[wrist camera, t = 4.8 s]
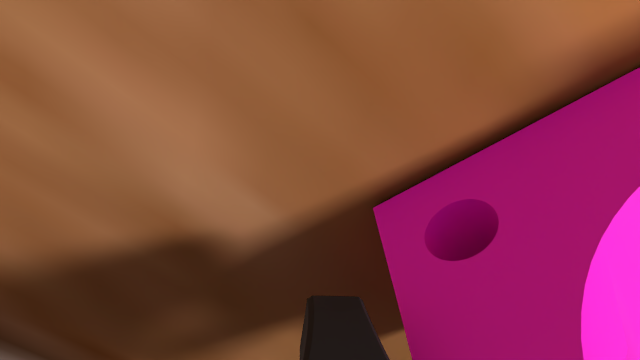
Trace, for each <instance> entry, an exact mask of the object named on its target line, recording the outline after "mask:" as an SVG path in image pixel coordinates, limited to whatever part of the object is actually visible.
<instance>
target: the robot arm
mask: <svg viewBox="0 0 640 360" xmlns="http://www.w3.org/2000/svg"><path fill="white" fill-rule="evenodd" d="M300 360H389V358H388V356H387V354H386V352H385V350H384V348H383V346H382V344H381V342H380V339H379V337H378V335H377V333H376V331H375V329H374V327H373V325H372V322H371V320H370V318H369V315H368V313H367V311H366V308H365V306H364V303H363V301H362V300H361V299H360V298H359V297H349V296H311V297H310V298H308V299H307V305H306V311H305V318H304V324H303V331H302V337H301V344H300Z"/></svg>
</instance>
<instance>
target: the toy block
mask: <svg viewBox="0 0 640 360" xmlns="http://www.w3.org/2000/svg"><path fill="white" fill-rule="evenodd" d="M373 210H374V214H375V218H376V222H377V226H378V229H379V233H380V237H381V241H382V245H383V249H384V252H385V256H386V260H387V264H388V268H389V272H390V275H391V279H392V283H393V287H394V291H395V295H396V299H397V302H398V306H399V310H400V314H401V318H402V322H403V325H404V329H405V333H406V337H407V341H408V345H409V348H410V352H411V356H412V360H640V67H639V68H637V69H636V70H634V71H632V72H630V73H628V74H626V75H624V76H622V77H620V78H618V79H617V80H615V81H613V82H611V83H609V84H607V85H605V86H603V87H601V88H599V89H598V90H596V91H594V92H592V93H590V94H588V95H586V96H584V97H582V98H581V99H579V100H577V101H575V102H573V103H571V104H569V105H567V106H565V107H563V108H562V109H560V110H558V111H556V112H554V113H552V114H550V115H548V116H546V117H544V118H543V119H541V120H539V121H537V122H535V123H533V124H531V125H529V126H527V127H525V128H524V129H522V130H520V131H518V132H516V133H514V134H512V135H510V136H508V137H507V138H505V139H503V140H501V141H499V142H497V143H495V144H493V145H491V146H489V147H488V148H486V149H484V150H482V151H480V152H478V153H476V154H474V155H472V156H470V157H469V158H467V159H465V160H463V161H461V162H459V163H457V164H455V165H453V166H451V167H450V168H448V169H446V170H444V171H442V172H440V173H438V174H436V175H434V176H433V177H431V178H429V179H427V180H425V181H423V182H421V183H419V184H417V185H415V186H414V187H412V188H410V189H408V190H406V191H404V192H402V193H400V194H398V195H396V196H395V197H393V198H391V199H389V200H387V201H385V202H383V203H381V204H379V205H377V206H376V207H374V208H373Z"/></svg>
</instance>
